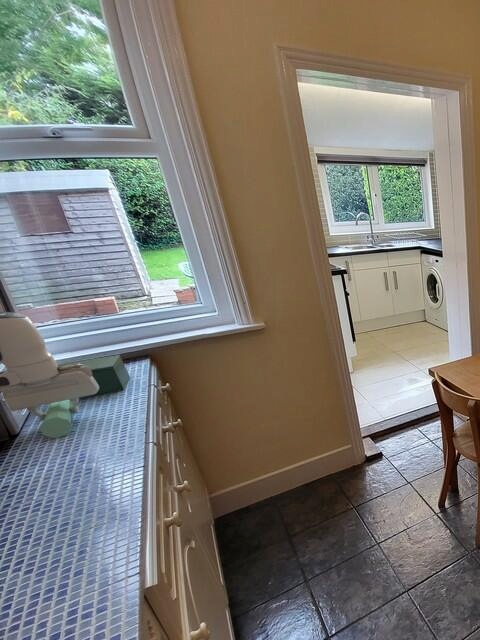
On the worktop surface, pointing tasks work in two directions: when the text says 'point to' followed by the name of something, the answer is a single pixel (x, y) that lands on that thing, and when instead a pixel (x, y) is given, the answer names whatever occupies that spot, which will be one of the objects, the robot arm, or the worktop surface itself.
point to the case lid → (96, 363)
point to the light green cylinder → (57, 419)
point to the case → (110, 379)
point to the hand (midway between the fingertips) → (60, 416)
